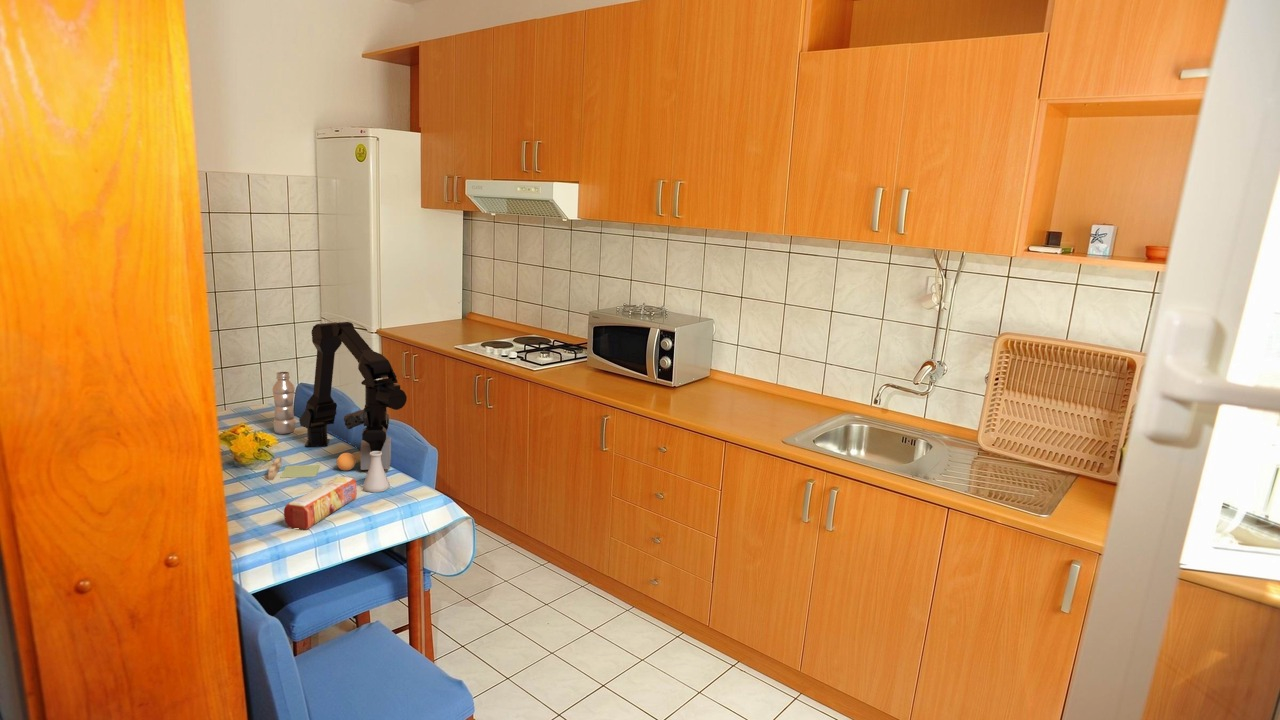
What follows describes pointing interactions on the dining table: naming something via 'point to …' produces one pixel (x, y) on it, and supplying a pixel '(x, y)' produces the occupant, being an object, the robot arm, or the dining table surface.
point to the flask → (376, 475)
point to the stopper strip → (274, 468)
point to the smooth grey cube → (384, 457)
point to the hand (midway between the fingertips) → (376, 454)
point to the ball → (346, 461)
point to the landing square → (300, 471)
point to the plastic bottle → (283, 404)
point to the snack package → (320, 503)
